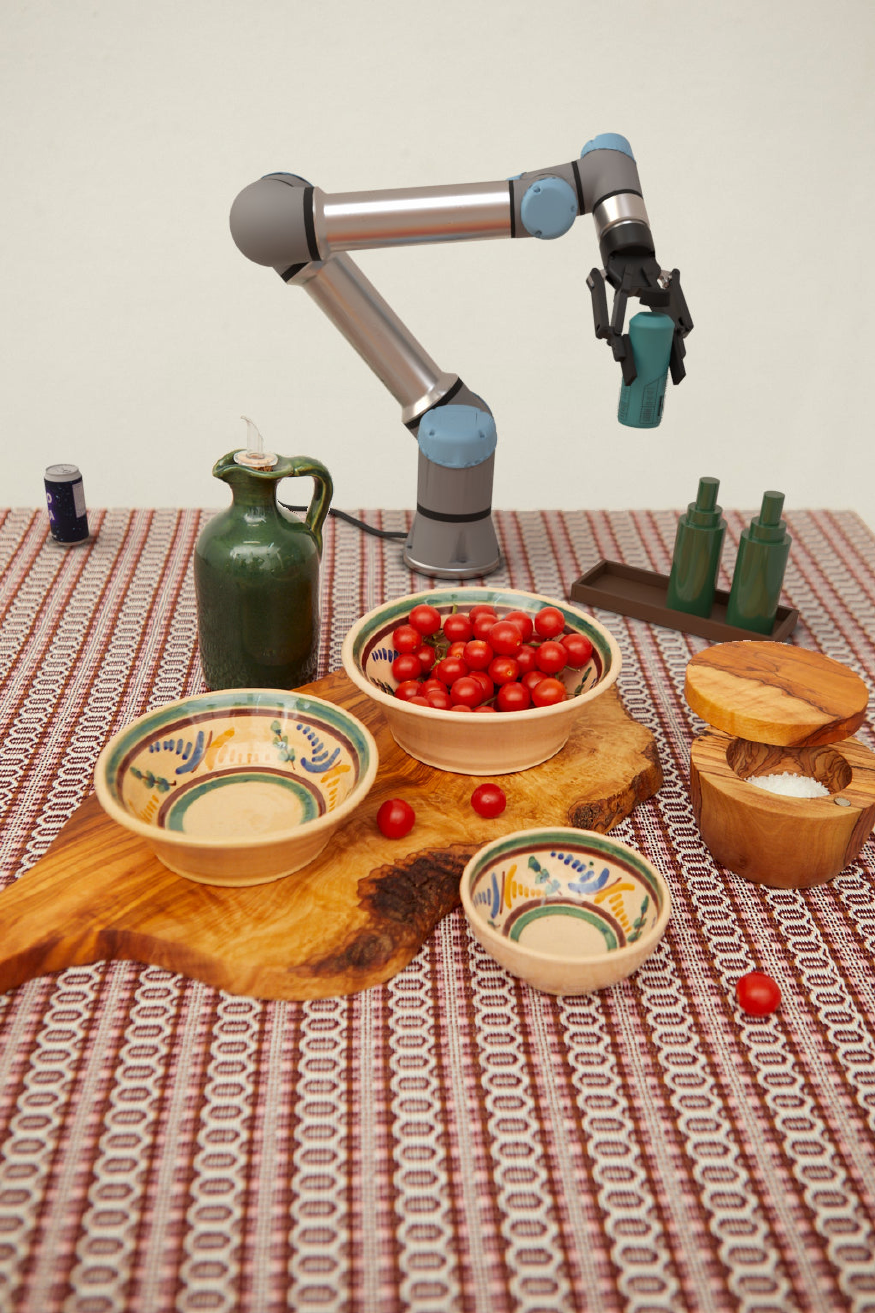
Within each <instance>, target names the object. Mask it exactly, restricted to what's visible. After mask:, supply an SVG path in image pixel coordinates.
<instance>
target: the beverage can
mask: <svg viewBox="0 0 875 1313" xmlns="http://www.w3.org/2000/svg"><path fill="white" fill-rule="evenodd" d="M44 472H45V473H44V476H43V483H44V489H45V497H46V505H47V510H48V512H47V513H48V520H49V526H50V532H51V533H50V534H51V538H52V540H54V541H55V542H57V544H58V545H61V546H65V547H74V546H78V545H81V544H83V543H85V541H86V539H87V538H88V537H90V529H89V522H88V512H87V504H86V497H85V489H84V481H83V474H82V473H81V472H80V469H79V466H77V465H75V464H72V463H57V464H52V465H49V466H48V467H46V468H45V471H44Z"/></svg>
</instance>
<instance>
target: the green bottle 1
mask: <svg viewBox="0 0 875 1313" xmlns="http://www.w3.org/2000/svg"><path fill="white" fill-rule="evenodd" d="M720 485H721V480H720V479H718V478H716V477H713V476H702V477H699V480H698V484H697V493H696V498H695V501H692V502H690V503H688V504H687V507H686V513H685V512H684V513H683V514H681V515H680V516H678V518H677V526H676V531H675V539H674V545H673V553H672V558H671V565H670V572H669V576H670V577H669V584H668V590H667V597H666V603H665V607H666V608H669V609H673V610H676V611H680V612H684V613H687V614H691V615H695V616H698V617H702V618H705V619H708V618H710V617H711V615H712V612H713V606H714V600H715V595H716V589H718V583H719V576H720V572H721V565H722V560H723V555H724V549H725V545H726V544H725V543H726V536H727V531H728V525H729V523H728V521H727V520H726V519H725V518H724V517H723V513H724V509H723V507H722V506H721V505H719V504H717V503H718V497H719V491H720V487H721V486H720Z"/></svg>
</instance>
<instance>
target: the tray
mask: <svg viewBox="0 0 875 1313" xmlns="http://www.w3.org/2000/svg"><path fill="white" fill-rule="evenodd" d="M669 577H670V575H667V574H664V573H659V572H655V571H653V570H648V569H644V568H640V567H638V566H637V567H636V566H634V565H628V564H625V563H621V562H618V561H614V560H610V559H607V558H603V559H602V560H600V561H599V562H598V563H596V564H595V565H594V566H593V567H591V568H589V570H587V571H586V572H585V573H583V574H582V575H581V576H579V577H578V578H577V579H576V580H575V581H573V582H572V583H571V586H570V587H571V588H570V595H569V600H570V601H574V602H578V603H581V604H585V605H588V606H591V607H595V608H598V609H599V608H600V609H602V610H605V611H609V612H612V613H615V614H620V615H623V616H626V617H630V618H633V619H637V620H640V621H644V622H647V623H651V624H653V625H658V626H661V627H665V628H668V629H672V630H676V631H678V632H683V633H686V634H690V635H693V636H697V637H700V638H703V639H707V640H711V641H714V642H718V643H721V644H723V643H722V642H732V641H743V640H751V641H775V642H784V643H785V641H786V640H787V639H788V638H789V637H790V635H791V633H792V632H793V631H794V630H795V628H796V627H797V625H798V620H799V615H800V609H797V608H793V607H789V606H785V605H781V604H779V605H778V610H777V615H776V620H775V625H774V630H773V633H772V634H771V635H770V636H767V635H763V634H760V633H756V632H752V631H749V630H745V629H742V628H738V627H734V626H731V625H727V624H724V622H725V616H726V611H727V605H728V600H729V594H730V591H728V590H725V589H724V590H723V589H720V588H717V589H716V595H715V600H714V606H713V612H712V615H711V617H710V618H708V619H705V618H702V617H698V616H695V615H691V614H687V613H684V612H680V611H676V610H673V609H669V608H666V607H665V603H666V597H667V590H668V584H669Z"/></svg>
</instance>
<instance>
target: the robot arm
mask: <svg viewBox="0 0 875 1313" xmlns="http://www.w3.org/2000/svg"><path fill="white" fill-rule="evenodd" d="M588 214H592V219H593V224H594V229H595V233H596V239H597V242H598V249H599V253H600V258H601V262H602V266H603V268H601V269H599V268H598V267H592V268H591V270H590V271H589V274H588V275H587V277H586V279H585V284H586V285H587V287H588V290H589V292H590V297H591V307H592V319H593V326H594V336H595V338H596V340H603V339H604V340H606V342H605V343H606V345H607V346H608V347H611V352H612V357H613V360H614V362H615V363H619V364H620V369H621V375H623V379H624V383H625V386H631V384H632V383H633V381H634V380H635V379H636V377H637V371H636V366H635V362H634V357H633V352H632V347H631V343H630V338H629V334H628V333H623V330H624V324H625V319H626V318H625V317H626V312H627V305H628V299H629V298H632V297H635V298H638V299H640V297H641V292H642V289H643V288H646V287H658V288H664V289H668V290H670V306H668V307H650V306H648V308H649V309H650V312H659V313H664V314H667V315H668V316H669V317H670V318H671V319H672V321H673V322H674V324H675V328H674V331H673V338H672V346H671V353H670V354H671V355H670V362H669V366H670V367H669V374H670V377H671V382H672V386H679V385H680V384H681V382H682V381H683V380H684V379H685V377H686V376H687V373H686V367H685V363H684V359H685V358H686V356H687V349H686V345H685V341H684V339H686V338H687V337H688V336H689V334H690V333H691V332H692V330H693V329H694V328H695V324H694V321H693V319H692V315H691V313H690V310H689V306H688V304H687V300H686V298H685V294H684V292H683V289H682V288H683V287H682V286H681V271H680V269H678V268H672V270H670V271H669V270H666V269H662V266H661V265H660V264H659V263H658V261H657V258H656V246H655V242H654V238H653V234H652V231H651V224H650V220H649V215H648V212H647V207H646V204H645V200H644V194H643V190H642V186H641V181H640V174H639V171H638V164H637V160H636V159H635V155H634V153H633V150H632V146H631V143H630V141H629V140H628V139H627V138H626V137H625V136H624V135H622V134H619V133H616V132H605V133H601V134H597V135H596V136H595V138H594V139H590V140H588V141H587V142H586V143H585V144H584V145H583V147H582V149H581V150H580V158H578V159H575V160H572V161H570V162H565V163H562V164H558V165H557V164H556V165H553V166H549V167H548V166H547V167H543V168H540V169H536V170H532V171H528V172H527V171H524V172H521V173H520V174H517V175H514V176H511V177H507V178H505V180H504V179H503V180H492V181H480V182H479V181H478V182H477V181H475V182H463V183H452V184H451V183H450V184H449V183H448V184H439V185H425V186H411V187H398V188H385V189H372V190H371V189H370V190H357V191H344V192H333V193H327V192H325V191H324V190H323V189H322V188H321V187H319V186H314V185H313V184H312V183H311V182H310V181H308V180H307V179H306V178H304V177H302V176H300V175H298V174H295V173H291V172H287V171H275V172H270V173H268V174H265V175H263V176H261V177H260V178H259V179H257V180H255V181H254V182H251V183H249V184H247V185H246V186H245V187H243V188H242V189H241V190H240V191H239V193H238V194H237V195H236V196H235V198H234V200H233V202H232V204H231V206H230V211H229V216H228V219H229V220H228V221H229V222H228V224H229V231H230V234H231V237H232V240H233V243H234V244H235V246H236V248H237V249H238V250H239V252H240V253H241V254H242V255H243V256H244V257H245V258H246V259H248V260H250V262H252V263H255V264H257V265H258V266H263V267H267V268H272V269H273V270H274V271H275V273H276V274H277V275H278V276H279V277H280V278H281V280H283V282H284V283H285V284H286V285H287V286H289V285H290V286H295V287H296V286H297V287H300V288H302V289H303V290H304V292H306V294H307V295H308V297H310V298H311V300H312V301H313V302H314V303H315V305H316V306H317V307H318V308H319V310H320V311H321V312H322V313H323V314H324V316H325V317H326V319H328V320H329V321H330V323H331V325H333V326H334V327H335V328H336V330H337V331H338V332H339V334H340V335H341V336H342V337H343V339H345V341H346V342H347V343H348V345H350V347H351V348H352V350H354V352H355V353H356V354H357V355H358V356H359V358H360V359H361V360H362V362H364V363H365V365H366V366H367V367H368V368H369V370H370V371H371V372H372V373H373V374H374V376H375V377H376V378H377V379H378V380H379V382H380V383H381V384H382V385H383V386H384V387H385V389H386V390H387V391H388V392H389V394H390V395H391V396H392V397H393V399H394V400H395V401H396V402H397V403H398V404H399V406H400V407H401V420H400V421H401V423H402V425H404V426H405V428H406V429H407V430H408V431H409V433H410V434H411V435H412V436H413V437H414V438H415V440H416V441H417V444H418V450H417V451H418V452H417V454H418V455H417V482H416V483H417V484H416V512H415V515H414V518H413V521H412V524H411V526H410V529H409V531H408V532H401V531H384V530H381V529H377V528H375V527H372V526H370V525H369V524H367V523H365V522H364V521H361V520H359V519H357V518H355V517H353V516H351V515H349V514H347V513H346V512H343V511H341V510H339V509H336V508H333V507H329V508H330V511H329V513H328V514H329V515H330V514H331V515H334V516H337V517H339V518H341V519H343V520H345V521H347V522H348V523H351V524H352V525H354V526H357V527H359V528H361V529H362V530H364V531H365V532H368V533H370V534H372V535H374V536H377V537H381V538H391V539H392V538H393V539H406V540H405V542H404V545H403V562H404V564H405V565H406V566H407V567H408V568H410V569H411V570H413V571H415V572H416V573H419V574H421V575H424V576H427V577H432V578H437V579H443V580H467V579H469V580H470V579H475V578H479V577H483V576H486V575H488V574H491V573H493V572H495V570H497V568H498V567H499V566H500V562H501V561H500V560H501V555H502V554H501V553H502V552H501V551H502V550H501V548H500V544H499V541H498V537H497V534H496V531H495V526H494V523H493V519H492V506H493V493H494V492H493V491H494V490H493V489H494V476H495V460H496V448H497V445H498V433H497V424H496V421H495V417H494V415H493V412H492V410H491V408H490V406H489V405H488V403H487V401H485V400H484V399H483V398H482V397H481V396H480V395H479V394H477V393H476V392H474V391H472V390H470V388H469V387H468V386H467V385H466V383H465V382H464V381H463V380H462V379H461V378H460V376H459V375H458V374H457V373H455V372H446V371H443V370H442V369H441V368H440V366H438V364H437V363H436V362H435V360H434V359H433V358H432V356H430V354H429V352H427V350H426V349H425V347H424V346H423V345H422V344H421V343H420V342H419V341H418V339H417V338H416V336H414V334H413V333H412V332H411V331H410V329H409V328H408V327H407V325H406V324H405V323H404V321H403V320H402V319H401V318H400V317H399V316H398V314H397V313H396V312H395V311H394V309H393V308H392V306H391V305H390V304H389V303H388V301H387V300H386V299H385V298H384V297H383V295H381V293H380V292H379V290H378V289H377V288H376V287H375V286H374V284H373V283H372V282H371V281H370V279H369V278H368V277H367V275H366V274H365V273H364V272H363V270H362V269H361V268H360V267H359V266H358V265H357V263H356V262H355V261H354V259H353V258H352V257H351V256H350V254H349V253H348V252H353V251H365V250H378V249H379V250H380V249H391V248H393V249H394V248H404V247H417V246H428V245H429V246H430V245H443V244H454V243H455V244H456V243H467V242H468V243H469V242H480V241H481V242H482V241H494V240H507V239H528V238H529V239H530V238H536V239H539V240H543V241H552V240H553V241H554V240H557V239H558V238H561V237H563V236H564V235H565V234H567V233H568V232H569V231H570V229H571V228H572V227H573V225H574V224H575V221H576V218H577V217H581V216H585V215H588ZM658 280H660V282H661V284H662V285H660V283H659V281H658ZM606 282H607V284H609V286H611V288H613V289H614V293H613V301H612V302H613V304H612V305H613V306H612V310H611V311H612V312H611V317H610V318H611V319H610V318H609V308H608V307H609V306H608V298H607V290H606ZM670 363H671V364H670ZM277 500H278V502H279V503H280V504H281V505H282V506H283V507H286V508H288V509H289V510H290V511H289V512H296V513H297V512H298V513H299V512H300V513H305V512H306V513H307V508H308V506H309V505H291V504H286V503H284V502H282V501H280V500H279V499H277Z"/></svg>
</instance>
